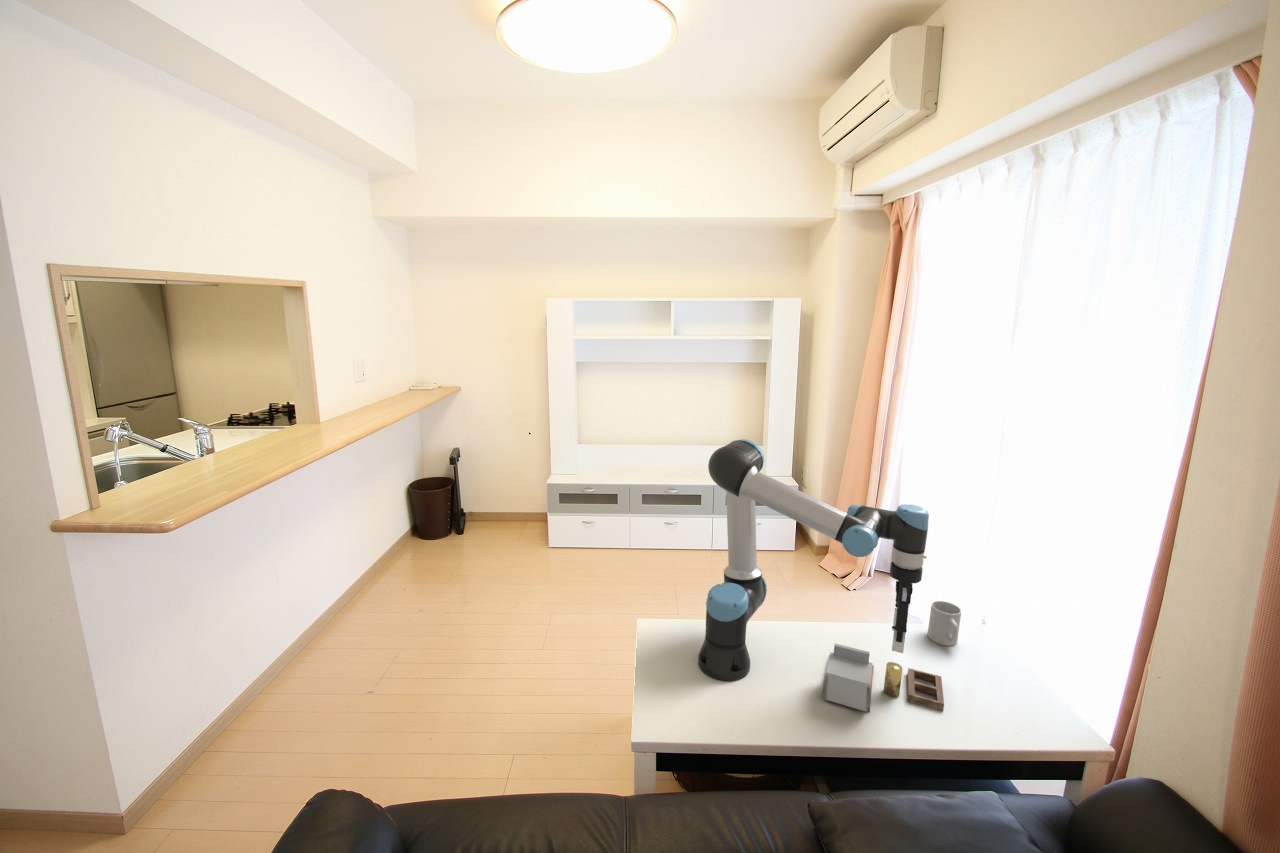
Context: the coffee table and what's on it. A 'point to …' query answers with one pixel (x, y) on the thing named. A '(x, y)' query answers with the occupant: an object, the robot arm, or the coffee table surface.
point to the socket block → (925, 689)
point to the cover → (848, 677)
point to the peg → (893, 679)
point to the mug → (944, 623)
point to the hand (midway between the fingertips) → (897, 640)
